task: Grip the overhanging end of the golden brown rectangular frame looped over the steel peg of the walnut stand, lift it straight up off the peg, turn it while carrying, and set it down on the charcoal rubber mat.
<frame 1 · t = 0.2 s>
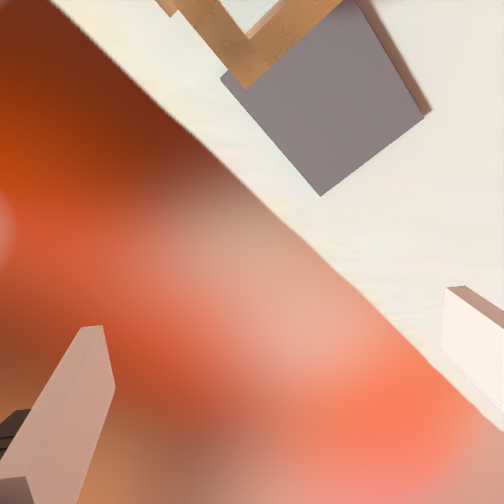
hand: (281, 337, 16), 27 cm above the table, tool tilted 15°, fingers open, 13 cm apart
rubber mat: (324, 97, 37), on the table
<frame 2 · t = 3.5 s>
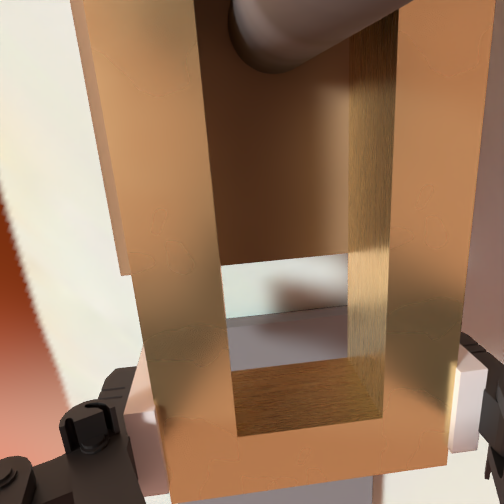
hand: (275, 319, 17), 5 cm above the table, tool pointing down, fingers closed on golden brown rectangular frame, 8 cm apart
golden brown rectangular frame: (281, 188, 12), point 8 cm above the table, touching gripper, walnut stand
rubber mat: (271, 426, 25), on the table
walnut stand: (246, 62, 18), on the table
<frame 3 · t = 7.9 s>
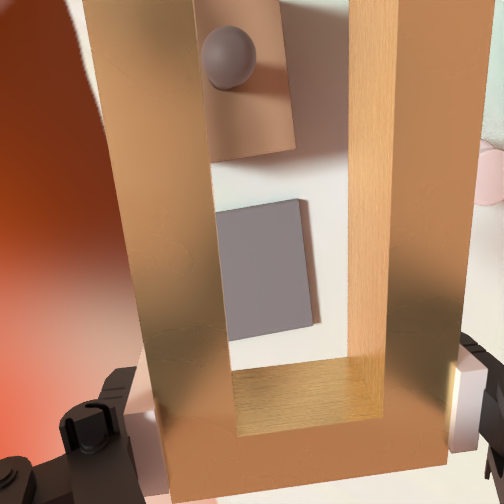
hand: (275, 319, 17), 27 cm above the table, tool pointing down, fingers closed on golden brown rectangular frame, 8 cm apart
golden brown rectangular frame: (281, 188, 12), point 31 cm above the table, touching gripper
pill bottle: (422, 162, 44), on the table
rubber mat: (252, 272, 46), on the table
walnut stand: (220, 82, 39), on the table
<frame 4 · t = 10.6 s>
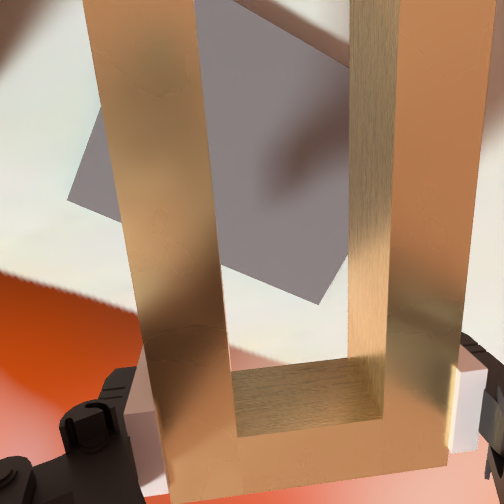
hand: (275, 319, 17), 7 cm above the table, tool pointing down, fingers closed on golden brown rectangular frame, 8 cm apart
golden brown rectangular frame: (282, 188, 12), point 11 cm above the table, touching gripper
rubber mat: (247, 154, 22), on the table
when the fingers open (2 cm above the table, at t = 12.6 s): golden brown rectangular frame drops 4 cm, resting on rubber mat.
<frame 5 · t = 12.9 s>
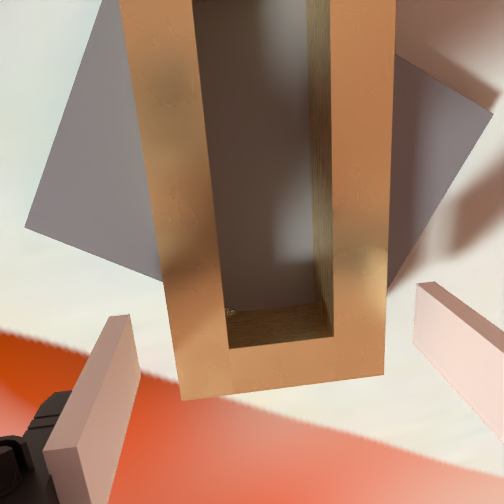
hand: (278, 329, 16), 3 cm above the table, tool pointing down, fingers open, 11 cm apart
golden brown rectangular frame: (261, 171, 16), point 1 cm above the table, touching rubber mat
rubber mat: (259, 166, 17), on the table
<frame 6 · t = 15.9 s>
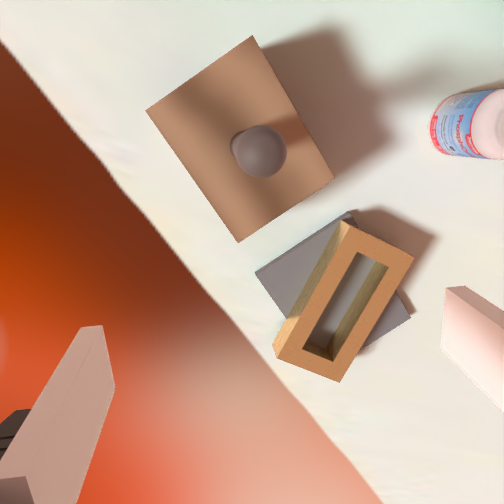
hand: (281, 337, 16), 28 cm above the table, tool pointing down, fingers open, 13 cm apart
golden brown rectangular frame: (335, 297, 46), point 1 cm above the table, touching rubber mat
pill bottle: (451, 125, 43), on the table
rubber mat: (333, 294, 47), on the table
walnut stand: (237, 143, 41), on the table
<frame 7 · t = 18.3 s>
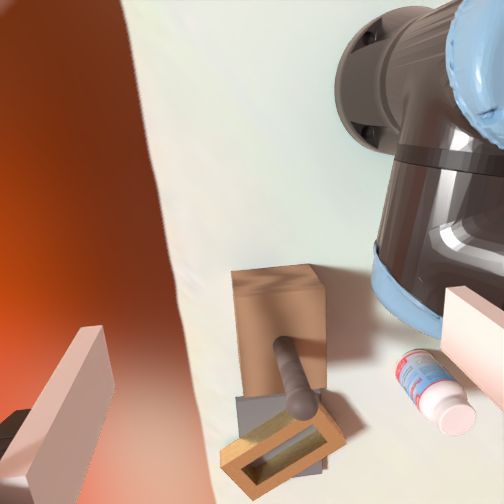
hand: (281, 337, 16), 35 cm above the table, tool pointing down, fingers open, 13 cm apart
golden brown rectangular frame: (280, 439, 60), point 1 cm above the table, touching rubber mat
pill bottle: (412, 365, 59), on the table
rubber mat: (279, 434, 60), on the table
walnut stand: (272, 313, 54), on the table
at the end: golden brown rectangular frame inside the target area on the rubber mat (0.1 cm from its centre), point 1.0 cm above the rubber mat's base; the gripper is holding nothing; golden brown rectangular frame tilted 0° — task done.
